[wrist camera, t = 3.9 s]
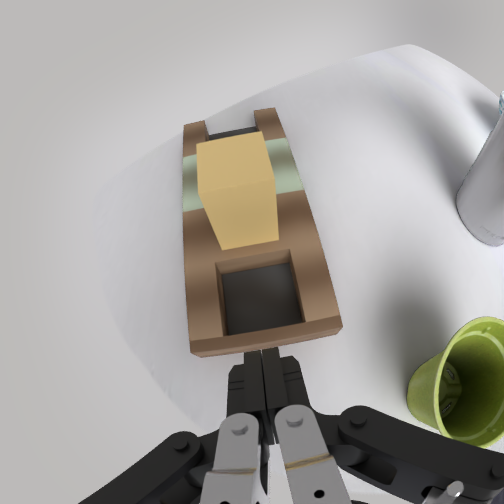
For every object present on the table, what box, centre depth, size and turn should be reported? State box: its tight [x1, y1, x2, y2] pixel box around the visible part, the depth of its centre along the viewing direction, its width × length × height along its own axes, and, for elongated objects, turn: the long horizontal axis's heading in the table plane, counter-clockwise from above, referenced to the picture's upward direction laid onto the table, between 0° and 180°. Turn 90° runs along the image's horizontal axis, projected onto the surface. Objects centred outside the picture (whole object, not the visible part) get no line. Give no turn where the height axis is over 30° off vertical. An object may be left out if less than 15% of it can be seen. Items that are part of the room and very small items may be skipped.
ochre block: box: [196, 131, 279, 250], centre depth 23 cm, size 5×5×8 cm
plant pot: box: [407, 317, 504, 449], centre depth 16 cm, size 9×9×9 cm
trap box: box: [183, 108, 343, 357], centre depth 29 cm, size 28×12×3 cm, turn 8°
